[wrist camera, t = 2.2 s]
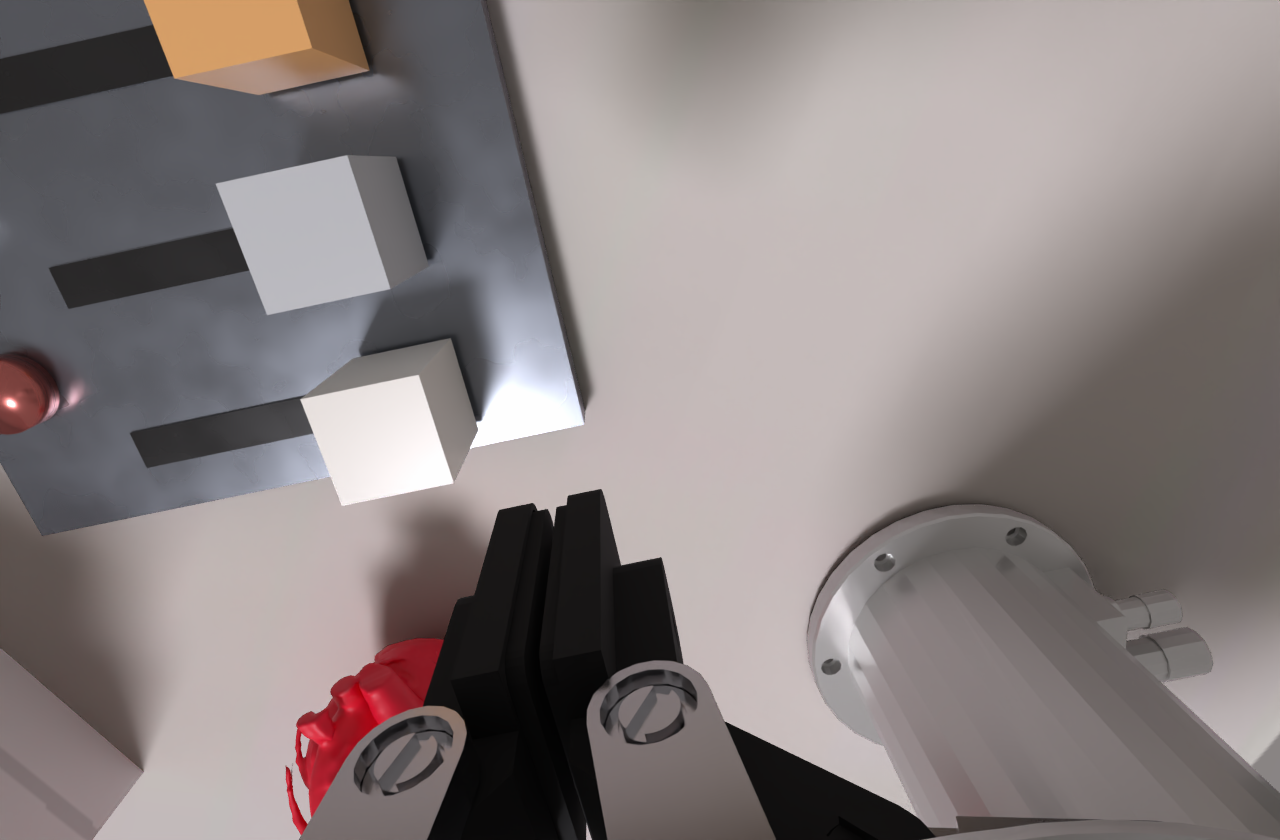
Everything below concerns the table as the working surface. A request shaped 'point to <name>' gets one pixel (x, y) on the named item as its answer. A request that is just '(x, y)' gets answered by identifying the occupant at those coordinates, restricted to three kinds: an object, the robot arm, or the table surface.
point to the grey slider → (325, 230)
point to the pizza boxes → (53, 765)
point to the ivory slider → (393, 422)
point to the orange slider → (258, 42)
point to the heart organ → (360, 713)
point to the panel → (242, 256)
